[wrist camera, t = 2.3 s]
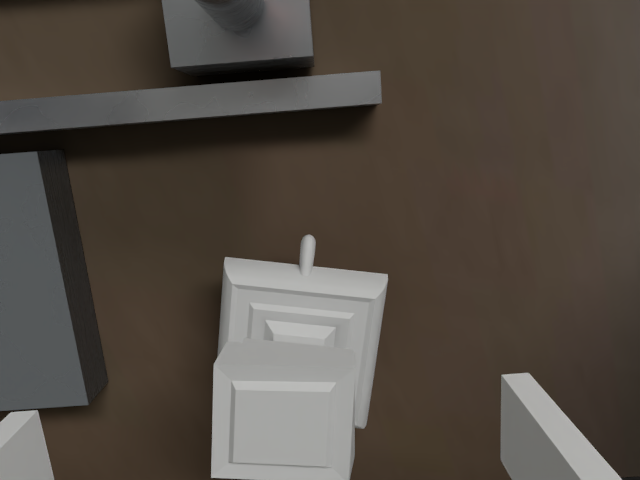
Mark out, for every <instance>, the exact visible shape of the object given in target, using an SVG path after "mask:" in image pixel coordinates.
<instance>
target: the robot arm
mask: <svg viewBox="0 0 640 480" xmlns="http://www.w3.org/2000/svg"><path fill="white" fill-rule="evenodd" d="M501 461H502V463H503V465H504V467H505V469H506V470H507V472H508V474H509V476H510V477H511V479H512V480H640V476H639V477H626V478H620V477H619V475H618V474H617V473H616V472H615V471H614V470H613V469H612V467H611V466H610V465H609V464H608V463H607V462H606V461H605V459H604V458H603V457H602V456H601V455H600V454H599V453H598V451H597V450H596V449H595V448H594V447H593V446H592V445H591V443H590V442H589V441H588V440H587V439H586V438H585V437H584V435H583V434H582V433H581V432H580V431H579V430H578V429H577V427H576V426H575V425H574V424H573V423H572V422H571V421H570V419H569V418H568V417H567V416H566V415H565V414H564V413H563V411H562V410H561V409H560V408H559V407H558V406H557V405H556V404H555V402H554V401H553V400H552V399H551V398H550V397H549V396H548V394H547V393H546V392H545V391H544V390H543V389H542V388H541V386H540V385H539V384H538V383H537V382H536V381H535V380H534V378H533V377H532V376H531V375H530V374H529V373H519V374H506V375H501ZM0 480H54V476H53V472H52V468H51V464H50V460H49V455H48V451H47V447H46V443H45V438H44V434H43V430H42V426H41V421H40V417H39V413H38V410H33V411H20V412H11V413H10V414H8V415H7V416H6V417H5V418H4V419H3V420H2V421H1V422H0Z"/></svg>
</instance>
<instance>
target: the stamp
mask: <svg viewBox="0 0 640 480" xmlns="http://www.w3.org/2000/svg"><path fill="white" fill-rule="evenodd" d="M315 245H316V242H315V239H314V237H313V236H312V235H305V236H304V237H303V238H302V241H301V248H300V262H299V265H295V264H286V263H277V262H267V261H258V260H248V259H239V258H230V257H225V261H224V269H223V283H222V298H221V313H220V328H219V342H218V357H217V359H216V361H215V363H214V371H213V416H212V460H211V478H228V479H250V480H350V476H351V471H352V466H353V461H354V457H355V428H363V429H364V427H365V426H366V424H367V418H368V411H369V404H370V397H371V391H372V384H373V377H374V370H375V364H376V357H377V350H378V344H379V337H380V330H381V323H382V317H383V310H384V303H385V296H386V290H387V283H388V274H380V273H371V272H361V271H352V270H342V269H333V268H324V267H314V266H313V262H314V254H315Z"/></svg>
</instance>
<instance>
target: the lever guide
mask: <svg viewBox="0 0 640 480" xmlns="http://www.w3.org/2000/svg"><path fill="white" fill-rule="evenodd" d="M381 103H382V100H381V78H380V71H369V72H356V73H344V74H332V75H319V76H307V77H295V78H282V79H270V80H257V81H245V82H233V83H220V84H208V85H196V86H183V87H171V88H158V89H146V90H134V91H121V92H109V93H97V94H84V95H72V96H59V97H47V98H35V99H22V100H10V101H0V135H8V134H20V133H33V132H46V131H58V130H71V129H83V128H96V127H109V126H121V125H134V124H146V123H159V122H171V121H184V120H197V119H209V118H222V117H234V116H247V115H260V114H272V113H285V112H297V111H310V110H323V109H335V108H348V107H360V106H373V105H379V104H381Z"/></svg>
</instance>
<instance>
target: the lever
mask: <svg viewBox="0 0 640 480" xmlns="http://www.w3.org/2000/svg"><path fill="white" fill-rule="evenodd" d="M162 6H163V13H164V20H165V28H166V35H167V42H168V49H169V57H170V64H171V68H174V69H176V70H178V71H181V72H183V73H186V74H188V75H190V76H193V77H195V76H207V75H220V74H232V73H244V72H257V71H269V70H281V69H294V68H306V67H314V55H313V41H312V28H311V15H310V1H309V0H162Z"/></svg>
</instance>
